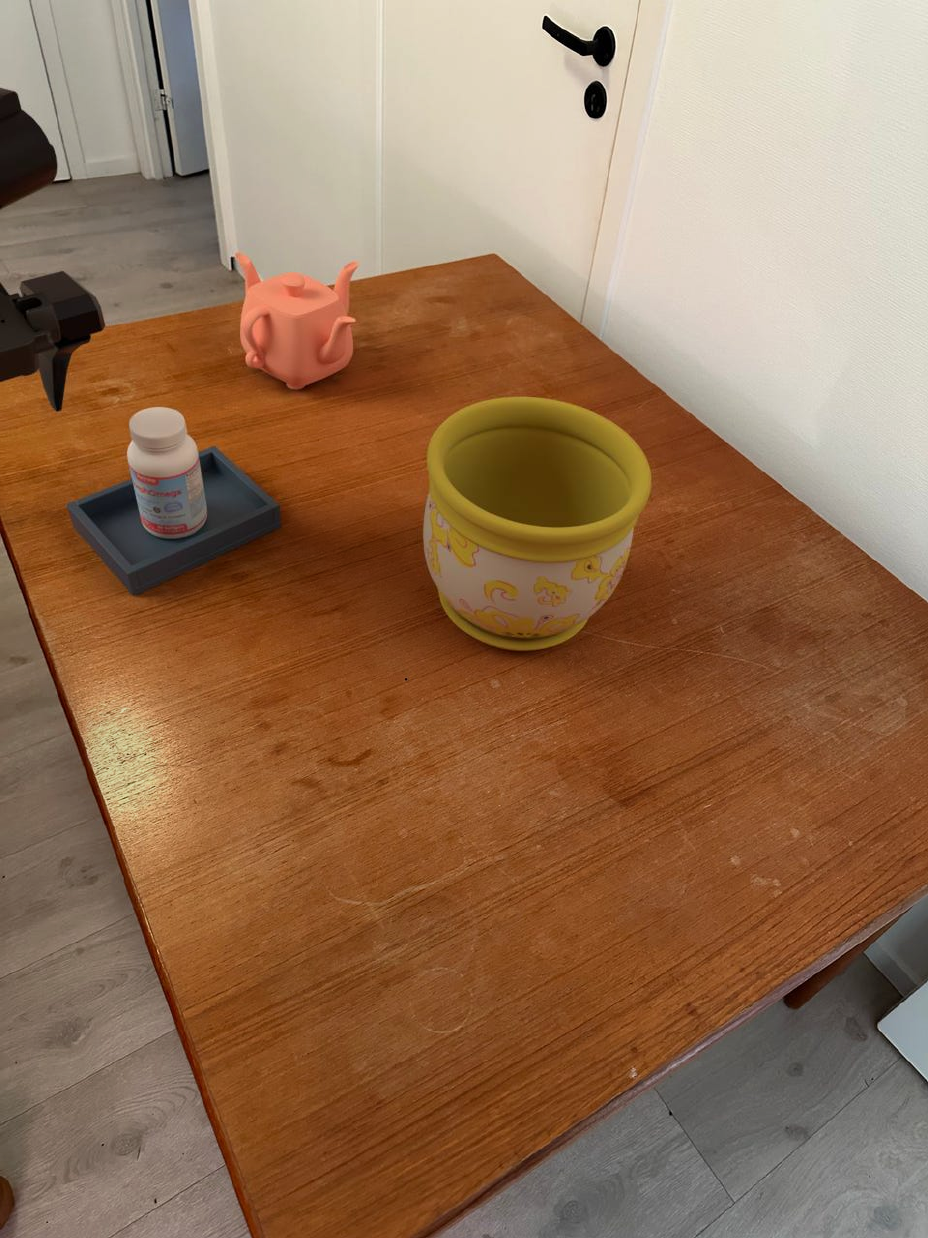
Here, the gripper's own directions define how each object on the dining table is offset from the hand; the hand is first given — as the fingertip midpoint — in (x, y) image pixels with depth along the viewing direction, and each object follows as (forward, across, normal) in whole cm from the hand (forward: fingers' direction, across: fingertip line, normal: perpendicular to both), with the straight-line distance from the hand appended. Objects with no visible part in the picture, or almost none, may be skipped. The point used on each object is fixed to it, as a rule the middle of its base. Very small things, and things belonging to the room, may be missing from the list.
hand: (1, 427), depth 71 cm
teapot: (+13, +38, +12) cm, 42 cm away
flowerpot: (+13, +30, -32) cm, 46 cm away
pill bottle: (+12, +11, -5) cm, 17 cm away
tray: (+13, +11, -5) cm, 18 cm away
